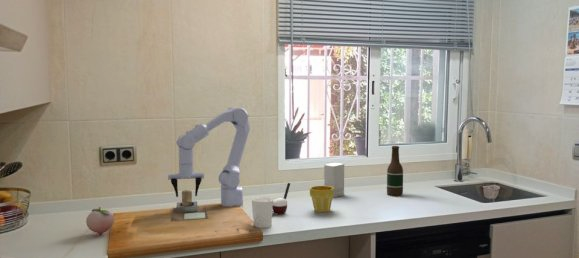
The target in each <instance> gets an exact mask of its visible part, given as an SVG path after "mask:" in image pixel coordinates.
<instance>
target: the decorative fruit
mask: <svg viewBox="0 0 579 258" xmlns="http://www.w3.org/2000/svg"><path fill="white" fill-rule="evenodd" d="M114 216H115V215H113V212H111V211H109V210H107V209H101V206H99V207H98V208H93V209H91V212H90V213H89V214H88V215H87V216H86V220H85V223H86V226H87V227H88V229H89V230H90V231H91V232H93V233H96V234H98V235H103V234H105V233H106V232H108V231H109V230H110V229H111V228H112V227H113V225H114V222H115V217H114Z"/></svg>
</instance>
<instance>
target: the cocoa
mask: <svg viewBox="0 0 579 258" xmlns="http://www.w3.org/2000/svg"><path fill="white" fill-rule="evenodd" d="M290 186H291V183H290V182H287V184H286V188H285V192H284V196H283V198H282V197H278V198H275V199H273V209H272V213H274V214H275V215H284V214H285V213H286V212H287V211H288V200H287V197H288V193H289V191H290Z"/></svg>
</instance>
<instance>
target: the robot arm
mask: <svg viewBox="0 0 579 258" xmlns="http://www.w3.org/2000/svg"><path fill="white" fill-rule="evenodd" d="M225 122H226V123H227V122H230V123H231V124H232V125H233V126H234V128H235V129H236V132H235V135H234V137H233V138H234V139H233V141H232V145H231V149H230V152H229V156H228V158H227V163H226V164H225V165H224V166H223V168H222V171H221V172H220V174H219V175H218V182H219V184H220V205H221V206H222V207H237V206H238V207H239V206H241V207H242V208H244V196H243V187H240V186H239V185H240V181H241V180H240V175H241V171H240V169H239V168H240V164H241V161H242V157H243V154H244V150H245V147H246V143H247V140H248V137H249V133H250V128H251V127H250V123H249V122H250V121H249V113H248V111H247V110H246V109H245V108H243V107H234V106H231V107H228V108H227V109H225V110H223V111H221V112H220V113H218V115H216V116H215V117H214V118H212V119H210V120H209V121H208V122H206V123H205V124H203V123H200V124H195V126H194V127H193V128H192V129H190V130H189V131H188V130H187V131H185V134H180V135H179V136H178V138H176V139H177V140H176V145H177V147H178V173H172V174H171V173H170V174H169V173H168V174H167V179H168V180H167V181H170V183H171V185H172V186H173V189H174V192H175V197H176V198H179V191H178V180H188V179H189V180H190V179H195V190H194V194H195V197H197V196H198V191H199V187H200V185H201V183H202V179H205V172H203V173H201V172H198V173H197V172H194V150H193V148H194V147H195V145H196V144H197V143H198V142H200V141H202V140H203V139H205V138H206V137H208V136H209V133H210V131H212V130H213V129H215V128H217V127H218V126H220V125H221V124H224V123H225Z"/></svg>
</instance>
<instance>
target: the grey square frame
mask: <svg viewBox="0 0 579 258" xmlns="http://www.w3.org/2000/svg"><path fill="white" fill-rule="evenodd" d="M175 208H176V213H191V212H198V201H196V200H195V201H192V206H182V201H181V202H176V207H175Z"/></svg>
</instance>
